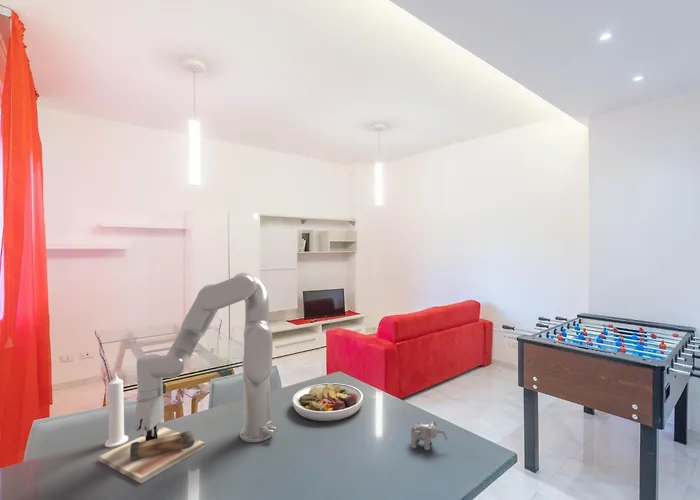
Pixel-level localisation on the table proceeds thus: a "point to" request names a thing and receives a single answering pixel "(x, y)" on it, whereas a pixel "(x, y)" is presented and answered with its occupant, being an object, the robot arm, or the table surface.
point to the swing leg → (161, 445)
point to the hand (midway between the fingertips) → (151, 446)
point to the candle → (116, 413)
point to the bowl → (327, 401)
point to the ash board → (147, 458)
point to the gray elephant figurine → (425, 434)
